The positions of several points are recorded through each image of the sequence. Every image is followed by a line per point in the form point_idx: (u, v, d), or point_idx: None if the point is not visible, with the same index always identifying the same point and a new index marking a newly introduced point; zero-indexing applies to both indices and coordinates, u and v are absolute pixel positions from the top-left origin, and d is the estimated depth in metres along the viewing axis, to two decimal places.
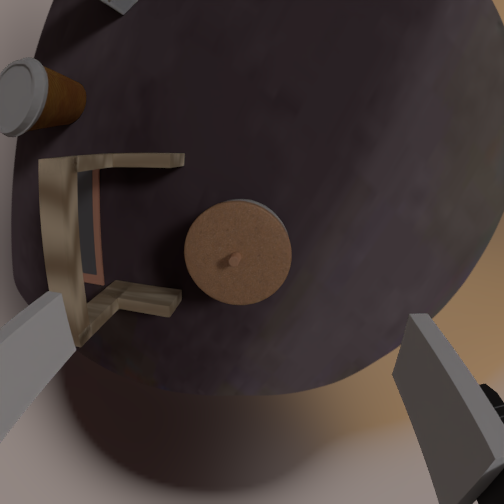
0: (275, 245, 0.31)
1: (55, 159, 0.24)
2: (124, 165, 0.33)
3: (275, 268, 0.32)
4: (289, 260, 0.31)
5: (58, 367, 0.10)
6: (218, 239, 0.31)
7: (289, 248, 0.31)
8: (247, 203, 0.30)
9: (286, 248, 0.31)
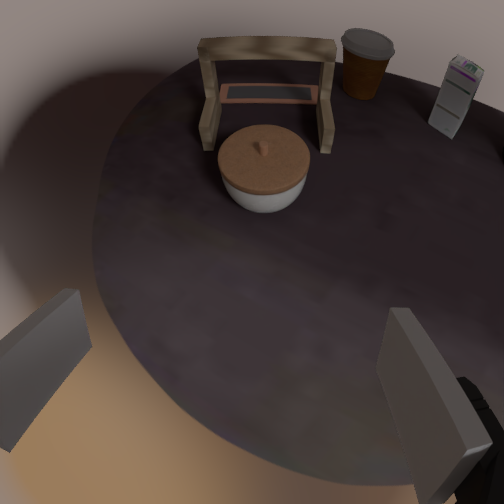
0: (276, 177, 0.35)
1: (335, 46, 0.37)
2: (322, 105, 0.44)
3: (255, 178, 0.35)
4: (263, 188, 0.34)
5: (75, 363, 0.11)
6: (277, 142, 0.37)
7: (274, 188, 0.34)
8: (309, 160, 0.36)
9: (274, 185, 0.34)
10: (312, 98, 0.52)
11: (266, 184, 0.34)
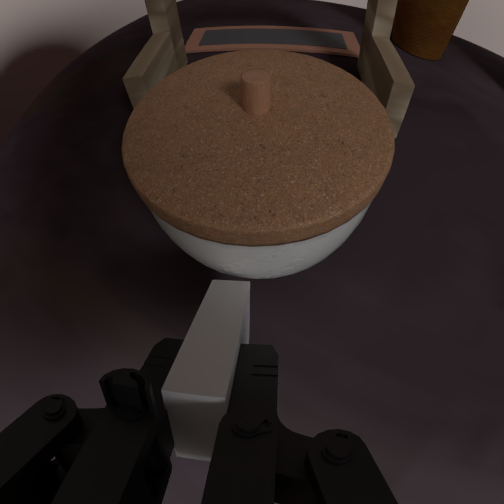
0: (298, 184, 0.10)
1: None
2: (378, 44, 0.19)
3: (222, 187, 0.10)
4: (248, 226, 0.09)
5: None
6: (297, 83, 0.12)
7: (290, 225, 0.09)
8: (393, 136, 0.11)
9: (290, 214, 0.09)
10: (347, 47, 0.27)
11: (261, 209, 0.09)
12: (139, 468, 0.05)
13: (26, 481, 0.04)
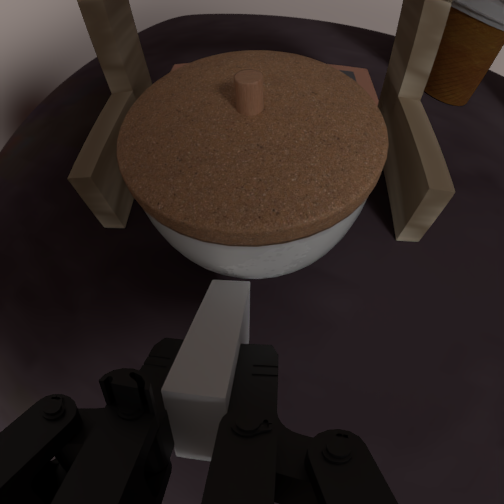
0: (299, 181, 0.10)
1: None
2: (407, 112, 0.15)
3: (224, 189, 0.10)
4: (253, 226, 0.09)
5: None
6: (288, 81, 0.12)
7: (295, 222, 0.09)
8: (386, 129, 0.11)
9: (294, 212, 0.09)
10: None
11: (265, 208, 0.09)
12: (139, 468, 0.05)
13: (26, 481, 0.04)
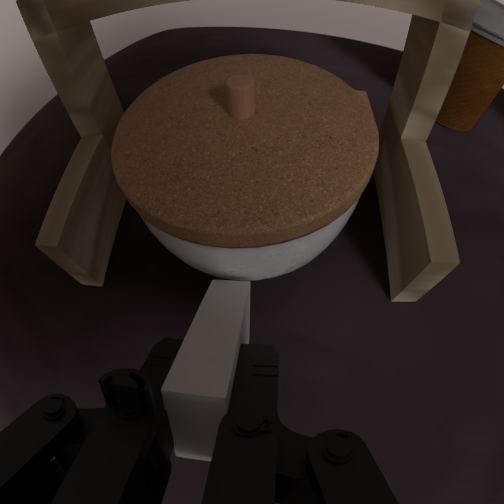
0: (295, 181, 0.10)
1: None
2: (410, 160, 0.14)
3: (222, 193, 0.10)
4: (254, 227, 0.09)
5: None
6: (277, 84, 0.12)
7: (294, 222, 0.10)
8: (375, 126, 0.12)
9: (293, 212, 0.10)
10: None
11: (264, 209, 0.10)
12: (139, 468, 0.05)
13: (26, 481, 0.04)
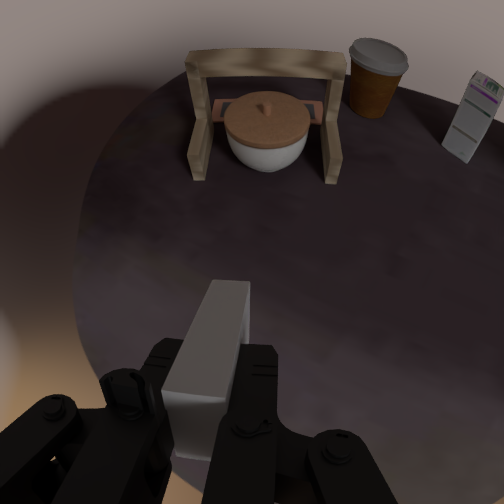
0: (283, 132, 0.36)
1: (344, 61, 0.32)
2: (328, 128, 0.40)
3: (263, 134, 0.36)
4: (272, 142, 0.35)
5: None
6: (277, 104, 0.38)
7: (283, 141, 0.35)
8: (309, 116, 0.37)
9: (282, 138, 0.35)
10: (315, 117, 0.48)
11: (275, 138, 0.35)
12: (139, 468, 0.05)
13: (26, 481, 0.04)
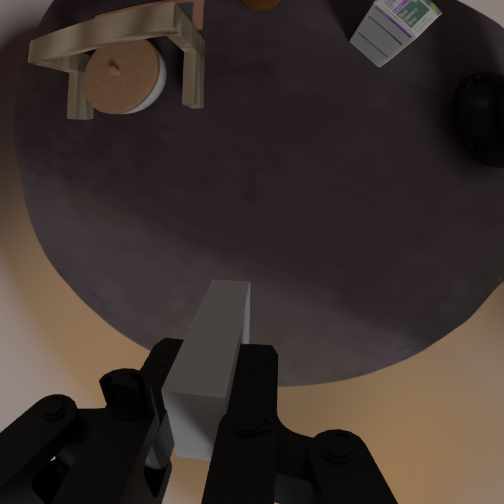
0: (130, 96, 0.33)
1: (172, 19, 0.25)
2: (185, 62, 0.34)
3: (114, 103, 0.34)
4: (121, 110, 0.34)
5: None
6: (127, 56, 0.32)
7: (130, 107, 0.34)
8: (157, 67, 0.32)
9: (129, 105, 0.34)
10: (193, 21, 0.36)
11: (123, 105, 0.34)
12: (139, 468, 0.05)
13: (26, 481, 0.04)
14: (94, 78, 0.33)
